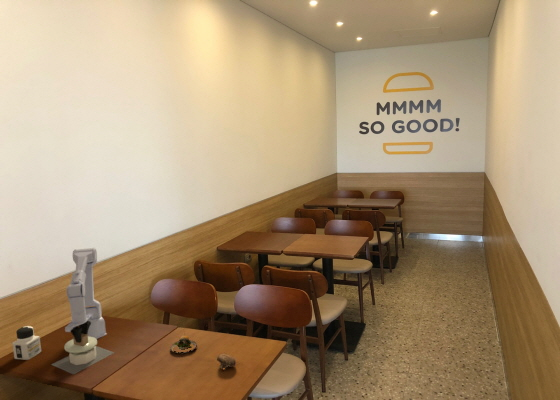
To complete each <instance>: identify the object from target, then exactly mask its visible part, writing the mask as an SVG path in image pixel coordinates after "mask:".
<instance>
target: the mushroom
mask: <svg viewBox="0 0 560 400" xmlns="http://www.w3.org/2000/svg"><path fill="white" fill-rule="evenodd" d="M216 360H217V362H219V364H220V365H219V368H220V369H221V370H222V369H223V368H226V367H227V368H229V367H232V366H234V367H236V365H237V362H236V359H235V358H234V357H233V356H232V355H229V354H226V353H222V354H219V355H218V356H217V358H216ZM228 366H229V367H228ZM227 368H226V369H227Z"/></svg>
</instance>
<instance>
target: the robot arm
mask: <svg viewBox="0 0 560 400" xmlns="http://www.w3.org/2000/svg"><path fill="white" fill-rule="evenodd" d="M72 260H73V262H74V264H75V271H73V273H72V274H71V279H70V283H69V285H67V287H66V297H67V299H68V303H69V307H70V314H71V315H70V316H71V319H70V322H69V323H68V325H67V326H65V327H64V331H65V333H71V334H72V336H74V338H75V341H76V342H78V343H80V342H81V333H83V334H88V336H89V337H94V338H96V339H97V340H98V339H100V338H102V337H104V336H107V335H108V333H107V331H106V330H107V329H106V321H105V319H104V318H103V316H102V311H103V310H102V305H101V302H100V301H98V300H97V299H95V293H94V291H95V289H94V286H95V285H94V266H95V265H97V262H98V252H97V249H96V248H95V247H92V248H90V247H89V248H78V249H73V251H72Z"/></svg>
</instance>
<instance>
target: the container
mask: <svg viewBox="0 0 560 400" xmlns="http://www.w3.org/2000/svg"><path fill="white" fill-rule="evenodd" d="M16 339H17V340H15V341H13V342H12V350H13V356H14V357H13V358H14V359H15V360H22V361H23V360H25V361H28V360H31V359H32V358H34V357H35V356H37V355H39V354H40V353H42V346H41V336H40V335H35V333H34V327H33V326H31V325H26V326H22V327H19V328H18V329H17V330H16Z"/></svg>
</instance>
